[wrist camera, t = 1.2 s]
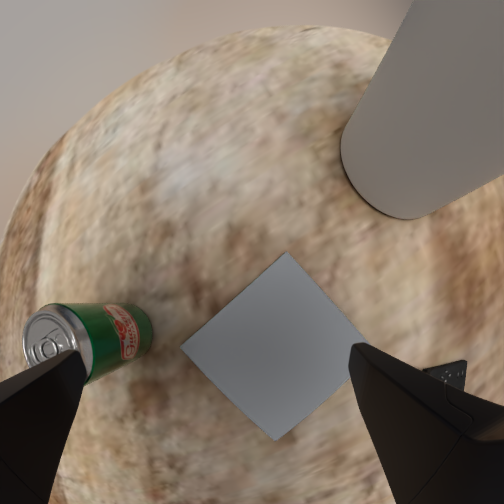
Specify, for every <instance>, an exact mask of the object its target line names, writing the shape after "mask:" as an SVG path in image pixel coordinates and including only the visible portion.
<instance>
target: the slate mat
mask: <svg viewBox="0 0 504 504" xmlns="http://www.w3.org/2000/svg"><path fill="white" fill-rule="evenodd" d="M360 342H365V343H367V344H369V343H368V341H367V340H366V339H365V338H364V337H363V336H362V335H361V333H360V332H359V331H358V330H357V329H356V328H355V327H354V325H353V324H352V323H351V322H350V321H349V320H348V319H347V318H346V316H345V315H344V314H343V313H342V312H341V311H340V310H339V309H338V307H337V306H336V305H335V304H334V303H333V302H332V301H331V300H330V298H329V297H328V296H327V295H326V294H325V293H324V292H323V291H322V290H321V288H320V287H319V286H318V285H317V284H316V283H315V282H314V281H313V280H312V278H311V277H310V276H309V275H308V274H307V273H306V272H305V271H304V270H303V269H302V267H301V266H300V265H299V264H298V263H297V262H296V261H295V260H294V259H293V258H292V257H291V255H290V254H289V253H288V252H287V251H286V252H285V253H284V254H283V255H282V256H281V257H280V258H279V259H278V260H276V261H275V262H274V263H273V264H272V265H271V266H270V267H269V268H268V269H267V270H266V271H264V272H263V273H262V274H261V275H260V276H259V277H258V278H257V279H256V280H254V281H253V282H252V283H251V284H250V285H249V286H248V287H247V288H246V289H244V290H243V291H242V292H241V293H240V294H239V295H238V296H237V297H236V298H234V299H233V300H232V301H231V302H230V303H229V304H228V305H227V306H225V307H224V308H223V309H222V310H221V311H220V312H219V313H218V314H216V315H215V316H214V317H213V318H212V319H211V320H210V321H208V322H207V323H206V324H205V325H204V326H203V327H202V328H201V329H199V330H198V331H197V332H196V333H195V334H194V335H193V336H191V337H190V338H189V339H188V340H187V341H186V342H185V343H183V344H182V345H181V346H180V348H181V349H182V350H183V351H184V352H185V354H186V355H187V356H188V357H189V358H190V359H191V360H192V361H193V362H194V363H195V365H196V366H197V367H198V368H199V369H200V370H201V371H202V372H203V373H204V374H205V375H206V376H207V377H208V378H209V379H210V380H211V381H212V382H213V383H214V385H215V386H216V387H217V388H218V389H219V390H220V391H221V392H222V393H223V394H224V395H225V396H226V397H227V398H228V399H229V400H231V401H232V402H233V403H234V404H235V405H236V406H237V407H238V408H239V409H240V410H241V411H242V412H243V413H244V414H245V415H246V416H247V417H248V418H249V419H251V420H252V421H253V422H254V423H255V424H256V425H257V426H258V427H259V428H260V429H262V430H263V431H264V432H265V433H266V434H267V435H268V436H269V437H271V438H272V439H273V440H274V441H276V440H278V439H279V438H280V437H282V436H283V435H284V434H286V433H287V432H288V431H289V430H291V429H292V428H293V427H294V426H296V425H297V424H298V423H299V422H301V421H302V420H303V419H304V418H305V417H307V416H308V415H309V414H310V413H311V412H313V411H314V410H315V409H316V408H317V407H318V406H320V405H321V404H322V403H323V402H324V401H325V400H326V399H327V398H329V397H330V396H331V395H332V394H333V393H334V392H335V391H336V390H337V389H338V388H339V387H340V386H342V385H343V384H344V383H345V382H346V381H347V380H348V379H349V378H350V374H349V370H348V363H349V357H350V351H351V346H352V345H353V344H354V343H360ZM369 345H370V344H369Z"/></svg>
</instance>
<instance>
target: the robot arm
mask: <svg viewBox="0 0 504 504" xmlns="http://www.w3.org/2000/svg"><path fill="white" fill-rule="evenodd" d="M348 370H349V374H350V377H351V381H352V384H353V388H354V392H355V395H356V399H357V403H358V406H359V409H360V412H361V414H362V417H363V419H364V422H365V424H366V427H367V429H368V432H369V434H370V437H371V439H372V442H373V444H374V447H375V449H376V452H377V454H378V457H379V459H380V462H381V465H382V467H383V470H384V472H385V475H386V478H387V480H388V483H389V486H390V488H391V491H392V494H393V496H394V499H395V502H396V504H504V406H502V405H499V404H496V403H493V402H490V401H487V400H484V399H482V398H479V397H476V396H474V395H471V394H469V393H466V392H464V391H462V390H460V389H457V388H455V387H453V386H451V385H449V384H447V383H446V384H445V382H443V381H441V380H439V379H437V378H435V377H433V376H431V375H429V374H427V373H425V372H423V371H421V370H419V369H417V368H415V367H413V366H411V365H409V364H407V363H405V362H403V361H401V360H399V359H397V358H395V357H393V356H391V355H389V354H387V353H385V352H383V351H381V350H379V349H377V348H375V347H373V346H371V345H369V344H367V343H365V342H360V343H354V344H353V345H352V346H351V351H350V357H349V363H348ZM86 376H87V370H86V367H85V364H84V362H83V359H82V356H81V354H80V352H79V351H78V350H72V349H68V350H65V351H63V352H61V353H59V354H57V355H55V356H53V357H51V358H49V359H47V360H45V361H43V362H41V363H39V364H37V365H35V366H33V367H31V368H29V369H27V370H25V371H23V372H21V373H19V374H17V375H15V376H13V377H11V378H9V379H6V380H4V381H2V382H0V504H48V502H49V498H50V494H51V490H52V486H53V483H54V479H55V476H56V472H57V469H58V465H59V462H60V459H61V456H62V453H63V450H64V446H65V443H66V440H67V438H68V435H69V432H70V429H71V426H72V423H73V421H74V418H75V415H76V412H77V409H78V406H79V402H80V398H81V394H82V391H83V387H84V383H85V380H86Z"/></svg>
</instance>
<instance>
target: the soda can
mask: <svg viewBox="0 0 504 504" xmlns="http://www.w3.org/2000/svg"><path fill="white" fill-rule="evenodd" d="M151 342H152V327H151V324H150V321H149V319H148V318H147V316H146V315H145V313H144V312H143V311H142V310H141V309H139V308H138V307H136V306H134V305H132V304H128V303H52V304H48V305H45V306H44V307H42V308H41V309H40V310H39V311H37V312H36V313H34V314H32V315H31V316H30V317H29V319H28V320H27V322H26V324H25V327H24V330H23V336H22V345H23V352H24V356H25V359H26V362H27V364H28V366H29V368H31V367H33V366H35V365H37V364H39V363H41V362H43V361H45V360H47V359H49V358H51V357H53V356H55V355H57V354H59V353H61V352H63V351H65V350H68V349H72V350H78V351H79V352H80V354H81V356H82V359H83V362H84V364H85V367H86V370H87V376H86V380H85V383H84V386H86V385H88V384H90V383H92V382H94V381H96V380H98V379H100V378H102V377H104V376H106V375H108V374H110V373H112V372H113V371H115V370H117V369H119V368H121V367H123V366H125V365H127V364H129V363H131V362H132V361H134V360H136V359H138V358H140V357H141V356H143V355H144V354H145V353H146V352H147V351H148V349H149V347H150V345H151Z"/></svg>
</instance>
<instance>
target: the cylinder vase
mask: <svg viewBox="0 0 504 504" xmlns="http://www.w3.org/2000/svg"><path fill="white" fill-rule="evenodd" d="M341 157H342V162H343V165H344V168H345V171H346V173H347V175H348V177H349V179H350V181H351V183H352V184H353V186H354V187H355V189H356V190H357V191H358V192H359V194H360V195H361V196H362V197H363V198H364V199H365V200H366V201H367V202H368V203H370V204H371V205H372V206H373V207H375V208H376V209H378V210H379V211H381V212H383V213H385V214H387V215H390V216H392V217H396V218H400V219H417V218H421V217H423V216H426V215H428V214H430V213H432V212H434V211H436V210H438V209H440V208H441V207H443V206H445V205H447V204H449V203H451V202H453V201H455V200H457V199H459V198H461V197H463V196H464V195H466V194H468V193H470V192H472V191H474V190H476V189H478V188H479V187H481V186H483V185H485V184H487V183H489V182H490V181H492V180H494V179H496V178H498V177H499V176H501V175H503V174H504V0H414V1H413V2H412V4H411V6H410V8H409V10H408V12H407V14H406V16H405V18H404V20H403V22H402V24H401V26H400V27H399V29H398V31H397V33H396V35H395V37H394V39H393V41H392V43H391V44H390V46H389V48H388V50H387V52H386V54H385V56H384V57H383V59H382V61H381V63H380V65H379V67H378V69H377V70H376V72H375V74H374V76H373V78H372V80H371V81H370V83H369V85H368V87H367V89H366V91H365V92H364V94H363V96H362V98H361V100H360V101H359V103H358V105H357V107H356V109H355V111H354V112H353V114H352V116H351V118H350V120H349V121H348V123H347V125H346V127H345V129H344V131H343V134H342V138H341Z"/></svg>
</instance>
